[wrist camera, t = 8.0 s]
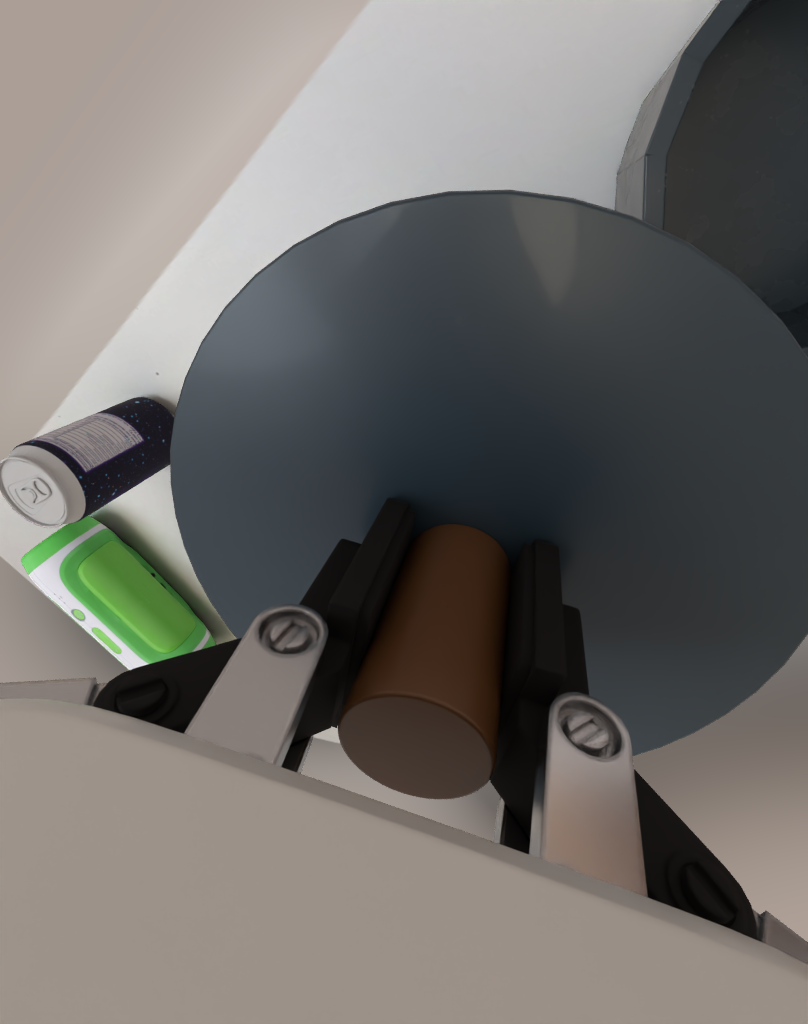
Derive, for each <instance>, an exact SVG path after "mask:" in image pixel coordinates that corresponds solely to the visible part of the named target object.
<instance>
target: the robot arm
mask: <svg viewBox="0 0 808 1024" xmlns="http://www.w3.org/2000/svg"><path fill="white" fill-rule="evenodd" d="M415 515H416V511H413V510H409V503H406V502H403V501H399V500H396V499H392V498H389V497H388V498H387V499H386V501H385V503H384V505H383V506H382V508H381V510H380V512H379V514H378V515H377V517H376V519H375V521H374V522H373V524H372V526H371V528H370V530H369V531H368V533H367V535H366V537H365V539H364V540H363V542H362V544H360V543H356V542H353V541H350V540H346V539H341V540H340V541H339V542H338V544H337V545H336V547H335V548H334V550H333V552H332V553H331V555H330V556H329V558H328V559H327V561H326V563H325V564H324V566H323V567H322V569H321V570H320V572H319V574H318V575H317V577H316V578H315V580H314V581H313V583H312V585H311V586H310V588H309V589H308V591H307V592H306V594H305V596H304V597H303V599H302V600H301V602H300V603H299V604H280V605H276V606H273V607H270V608H268V609H266V610H265V611H263V612H261V613H260V614H259V615H258V616H257V617H256V618H255V620H254V621H253V622H252V624H251V625H250V627H249V629H248V630H247V632H246V633H245V635H244V637H243V638H240V639H236V640H233V641H229V642H226V643H222V644H218V645H215V646H211V647H208V648H204V649H201V650H197V651H194V652H190V653H187V654H183V655H179V656H176V657H172V658H169V659H165V660H162V661H158V662H155V663H151V664H147V665H144V666H140V667H137V668H134V669H131V670H129V671H126V672H124V673H122V674H120V675H119V676H117V677H115V678H114V679H112V680H111V681H109V682H108V683H102V684H97V680H96V678H80V679H63V680H46V681H28V682H10V683H0V1024H808V942H807V941H805V940H804V939H803V938H801V937H800V936H799V935H797V934H796V933H795V932H794V931H792V930H791V929H790V928H788V927H787V926H786V925H784V924H783V923H782V922H780V921H779V920H778V919H777V918H775V917H774V916H773V915H771V914H770V913H769V912H767V911H765V912H763V913H762V914H761V915H760V914H758V913H757V912H756V911H754V910H753V909H752V907H751V904H750V902H749V900H748V899H747V897H746V895H745V893H744V891H743V889H742V888H741V886H740V885H739V883H738V882H737V881H736V880H735V878H734V877H733V876H732V875H731V873H730V872H729V871H728V870H727V869H726V867H725V866H724V865H723V864H722V863H721V862H720V861H719V860H718V859H717V858H716V857H715V856H714V855H713V853H712V852H711V851H710V850H709V849H708V848H707V847H706V846H705V845H704V844H703V843H702V842H701V841H700V839H699V838H698V837H697V836H696V835H695V834H694V833H693V832H692V831H691V830H690V829H689V828H688V827H687V825H686V824H685V823H684V822H683V821H682V820H681V819H680V818H679V817H678V816H677V815H676V814H675V813H674V811H673V810H672V809H671V808H670V807H669V806H668V805H667V804H666V803H665V802H664V801H663V800H662V799H661V798H660V796H658V794H657V793H656V792H655V791H654V790H653V789H652V788H651V787H650V786H649V785H648V783H647V782H646V781H645V780H644V779H643V778H642V777H641V776H640V775H639V774H638V773H637V772H636V771H635V770H634V765H633V756H632V747H631V741H630V737H629V733H628V730H627V729H626V727H625V725H624V724H623V722H622V720H621V719H620V718H619V717H618V716H617V714H616V713H615V712H614V711H613V710H612V709H611V708H609V707H608V706H607V705H605V704H604V703H603V702H601V701H600V700H598V699H596V698H594V697H592V696H590V695H589V688H588V678H587V669H586V660H585V651H584V642H583V632H582V623H581V615H580V610H579V609H578V608H575V607H572V606H569V605H565V604H563V603H562V588H561V572H560V556H559V546H557V545H554V544H550V543H547V542H543V541H540V540H536V539H535V540H534V541H533V543H532V544H528V543H524V544H523V546H522V549H521V551H520V554H519V557H518V559H517V562H516V564H515V567H514V569H513V572H512V574H511V580H510V593H509V606H508V619H507V631H506V644H505V657H504V669H503V682H502V695H501V708H500V721H499V734H498V746H497V759H496V767H495V770H494V773H493V775H492V776H491V778H490V780H491V783H492V785H493V786H494V787H495V789H496V790H497V792H498V793H499V795H500V796H501V797H500V801H499V804H498V810H497V817H496V825H495V832H494V839H493V842H492V841H489V840H486V839H484V838H481V837H478V836H476V835H472V834H470V833H467V832H464V831H461V830H458V829H456V828H453V827H450V826H447V825H444V824H442V823H439V822H436V821H433V820H430V819H428V818H425V817H422V816H419V815H416V814H413V813H410V812H408V811H405V810H402V809H399V808H396V807H393V806H391V805H388V804H385V803H382V802H379V801H376V800H374V799H371V798H368V797H365V796H362V795H359V794H356V793H353V792H351V791H348V790H345V789H342V788H340V787H337V786H334V785H331V784H328V783H325V782H322V781H320V780H316V779H314V778H311V777H308V776H305V775H302V774H301V771H302V768H303V765H304V762H305V760H306V757H307V754H308V751H309V749H310V746H311V743H312V740H313V735H314V734H317V733H319V732H322V731H324V730H326V729H329V728H331V726H332V727H335V728H337V726H338V721H339V718H340V715H341V712H342V710H343V707H344V705H345V702H346V700H347V697H348V695H349V692H350V690H351V688H352V685H353V683H354V680H355V678H356V675H357V673H358V670H359V668H360V666H361V663H362V661H363V658H364V656H365V653H366V651H367V648H368V646H369V644H370V641H371V639H372V636H373V634H374V631H375V629H376V626H377V624H378V621H379V619H380V617H381V614H382V612H383V609H384V607H385V604H386V602H387V599H388V597H389V594H390V592H391V589H392V587H393V585H394V582H395V580H396V577H397V575H398V572H399V570H400V567H401V565H402V562H403V560H404V557H405V555H406V553H407V550H408V545H409V541H410V537H411V533H412V528H413V524H414V520H415Z"/></svg>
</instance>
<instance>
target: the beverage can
mask: <svg viewBox="0 0 808 1024" xmlns="http://www.w3.org/2000/svg"><path fill="white" fill-rule="evenodd" d="M174 417H175V416H174V415H173V414H172V413H171V412H170V411H169V410H167V409H166V408H165V407H164V406H162V405H161V404H159V403H158V402H156V401H154V400H151V399H148V398H144V397H137V398H133V399H130V400H128V401H125V402H123V403H120V404H118V405H115V406H113V407H110V408H108V409H106V410H103V411H101V412H98V413H96V414H93V415H91V416H88V417H86V418H84V419H81V420H79V421H76V422H74V423H71V424H69V425H66V426H64V427H62V428H59V429H57V430H54V431H52V432H49V433H47V434H44V435H42V436H40V437H37V438H35V439H32V440H30V441H28V442H25V443H23V444H20V445H18V446H16V447H15V448H14V449H13V450H12V452H11V453H10V455H9V457H7V458H5V459H3V460H2V461H1V462H0V491H1V493H2V495H3V497H4V498H5V500H6V501H7V502H8V504H9V505H10V506H11V507H12V508H13V509H14V510H15V511H16V512H17V513H18V514H19V515H20V516H22V517H23V518H24V519H26V520H28V521H29V522H31V523H33V524H35V525H38V526H41V527H46V528H54V527H58V526H60V525H62V524H69V523H76V522H79V521H80V520H82V519H84V518H85V517H87V516H88V515H90V514H92V513H93V512H95V511H96V510H98V509H100V508H101V507H103V506H104V505H106V504H108V503H109V502H111V501H112V500H114V499H116V498H117V497H119V496H120V495H122V494H123V493H125V492H127V491H128V490H130V489H131V488H133V487H135V486H136V485H138V484H139V483H141V482H143V481H144V480H146V479H147V478H149V477H151V476H152V475H154V474H155V473H157V472H159V471H160V470H162V469H163V468H165V467H166V466H168V465H170V464H171V461H170V448H171V440H172V432H173V425H174Z"/></svg>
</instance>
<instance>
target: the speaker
mask: <svg viewBox="0 0 808 1024" xmlns="http://www.w3.org/2000/svg"><path fill="white" fill-rule="evenodd" d="M21 562H22V565H23V566H24V568H25V570H26V572H27V573H28V575H29V577H30V578H31V580H32V581H33V582H34V583H35V584H36V585H37V586H38V587H39V588H40V589H41V590H42V591H43V592H44V593H45V594H46V595H47V596H48V597H49V598H50V599H52V600H53V601H54V602H55V603H56V604H57V605H58V606H59V607H60V608H61V609H62V610H63V611H65V612H66V613H67V614H68V615H69V616H70V617H71V618H72V619H73V620H74V621H75V622H77V623H78V624H79V625H80V626H81V627H82V628H83V629H84V630H85V631H86V632H87V633H89V634H90V635H91V636H92V637H93V638H94V639H95V640H96V641H97V642H99V643H100V644H101V645H102V646H103V647H104V648H105V649H106V650H107V651H108V652H110V653H111V654H112V655H113V656H114V657H115V658H116V659H117V660H118V661H119V662H120V663H122V664H123V665H124V666H125V667H126V668H127V669H128V670H131V669H134V668H137V667H140V666H144V665H147V664H151V663H155V662H158V661H162V660H165V659H169V658H172V657H176V656H179V655H183V654H187V653H190V652H194V651H197V650H201V649H204V648H208V647H211V646H215V645H216V643H215V641H214V640H213V638H212V636H211V634H210V632H209V631H208V629H207V628H206V627H205V625H204V624H203V622H202V621H201V620H200V619H199V618H198V617H197V616H196V615H195V614H194V613H193V611H192V610H191V609H190V607H189V606H188V604H187V603H186V602H185V601H184V600H183V599H182V597H181V596H180V595H179V594H178V593H177V592H176V591H175V590H174V589H173V588H172V587H171V586H170V585H169V584H168V583H167V582H166V581H165V580H164V579H163V578H162V577H161V576H160V575H159V574H158V573H157V572H156V571H155V570H154V569H153V568H152V567H151V566H150V565H149V564H148V563H147V562H146V561H145V560H144V559H143V558H142V557H141V556H140V555H139V554H138V553H137V552H136V551H135V550H134V549H132V548H131V547H130V546H128V545H127V544H125V543H124V542H123V541H122V540H120V539H119V538H118V537H117V536H116V535H115V533H113V532H112V531H111V530H110V529H108V528H107V527H106V526H104V525H103V524H101V523H100V522H98V521H97V520H95V519H93V518H91V517H90V516H87V517H85V518H84V519H82V520H80V521H79V522H76V523H69V524H67V525H66V526H64V527H62V528H61V529H59V530H58V531H57V532H55V533H54V534H52V535H51V536H49V537H48V538H47V539H45V540H44V541H42V542H41V543H39V544H38V545H37V546H35V547H34V548H33V549H32V550H30V551H29V552H28V553H27V554H25V555H24V556H23V557H22V559H21Z"/></svg>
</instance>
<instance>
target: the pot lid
mask: <svg viewBox="0 0 808 1024" xmlns="http://www.w3.org/2000/svg"><path fill="white" fill-rule="evenodd" d="M170 461H171V488H172V495H173V501H174V508H175V515H176V519H177V522H178V526H179V529H180V533H181V537H182V540H183V544H184V547H185V550H186V552H187V554H188V557H189V559H190V562H191V564H192V567H193V569H194V571H195V574H196V576H197V578H198V580H199V582H200V583H201V585H202V587H203V589H204V591H205V593H206V594H207V596H208V598H209V600H210V602H211V603H212V605H213V606H214V608H215V609H216V611H217V612H218V614H219V615H220V616H221V618H222V619H223V621H224V622H225V624H226V625H227V627H228V628H229V629H230V630H231V632H232V633H233V634H234V635H235V636H236V638H237V639H240V638H243V637H244V635H245V633H246V632H247V630H248V629H249V627H250V625H251V624H252V622H253V621H254V620H255V618H256V617H257V616H258V615H259V614H260V613H261V612H263V611H265V610H266V609H268V608H270V607H273V606H276V605H280V604H299V603H300V602H301V600H302V599H303V597H304V596H305V594H306V592H307V591H308V589H309V588H310V586H311V585H312V583H313V581H314V580H315V578H316V577H317V575H318V574H319V572H320V570H321V569H322V567H323V566H324V564H325V563H326V561H327V559H328V558H329V556H330V555H331V553H332V552H333V550H334V548H335V547H336V545H337V544H338V542H339V541H340V540H341V539H346V540H350V541H353V542H356V543H360V544H362V542H363V540H364V539H365V537H366V535H367V533H368V531H369V530H370V528H371V526H372V524H373V522H374V521H375V519H376V517H377V515H378V514H379V512H380V510H381V508H382V506H383V505H384V503H385V501H386V499H387V498H388V497H389V498H392V499H396V500H399V501H403V502H406V503H409V510H413V511H416V515H415V520H414V524H413V528H412V533H411V537H410V541H409V545H408V550H407V553H406V555H405V557H404V560H403V562H402V565H401V567H400V570H399V572H398V575H397V577H396V580H395V582H394V585H393V587H392V589H391V592H390V594H389V597H388V599H387V602H386V604H385V607H384V609H383V612H382V614H381V617H380V619H379V621H378V624H377V626H376V629H375V631H374V634H373V636H372V639H371V641H370V644H369V646H368V648H367V651H366V653H365V656H364V658H363V661H362V663H361V666H360V668H359V670H358V673H357V675H356V678H355V680H354V683H353V685H352V688H351V690H350V692H349V695H348V697H347V700H346V702H345V705H344V707H343V710H342V712H341V715H340V718H339V721H338V735H339V740H340V743H341V745H342V747H343V749H344V751H345V753H346V754H347V756H348V757H349V758H350V760H351V761H352V762H353V763H354V764H355V765H356V766H357V767H358V768H359V769H360V770H361V771H362V772H364V773H365V774H366V775H368V776H369V777H371V778H372V779H374V780H375V781H377V782H379V783H381V784H382V785H385V786H386V787H389V788H391V789H393V790H396V791H398V792H401V793H404V794H408V795H412V796H416V797H422V798H428V799H453V798H459V797H463V796H466V795H469V794H472V793H474V792H476V791H478V790H479V789H480V788H482V787H483V786H484V785H485V784H486V783H487V782H488V781H489V780H490V778H491V776H492V775H493V773H494V770H495V767H496V759H497V746H498V734H499V721H500V708H501V695H502V682H503V669H504V657H505V644H506V631H507V619H508V606H509V593H510V580H511V574H512V572H513V569H514V567H515V564H516V562H517V559H518V557H519V554H520V551H521V549H522V546H523V544H524V543H528V544H532V543H533V541H534V540H535V539H536V540H540V541H543V542H547V543H550V544H554V545H557V546H559V556H560V572H561V588H562V603H563V604H565V605H569V606H572V607H575V608H578V609H579V610H580V615H581V623H582V632H583V642H584V651H585V660H586V669H587V678H588V688H589V695H590V696H592V697H594V698H596V699H598V700H600V701H601V702H603V703H604V704H605V705H607V706H608V707H609V708H611V709H612V710H613V711H614V712H615V713H616V714H617V716H618V717H619V718H620V719H621V720H622V722H623V724H624V725H625V727H626V729H627V730H628V733H629V737H630V741H631V747H632V756H635V755H638V754H641V753H645V752H648V751H651V750H654V749H657V748H660V747H663V746H665V745H667V744H670V743H672V742H674V741H677V740H679V739H681V738H684V737H686V736H688V735H691V734H693V733H695V732H696V731H698V730H700V729H702V728H704V727H705V726H707V725H709V724H711V723H712V722H714V721H716V720H718V719H719V718H721V717H723V716H725V715H726V714H728V713H729V712H730V711H731V710H733V709H734V708H736V707H737V706H738V705H740V704H741V703H742V702H744V701H745V700H746V699H748V698H749V697H750V696H752V695H753V694H754V693H756V692H757V691H758V690H759V689H760V688H761V687H762V686H763V685H764V684H765V683H766V682H767V681H768V680H769V679H770V678H771V677H772V676H773V675H774V674H775V673H777V672H778V671H779V670H780V669H781V668H782V667H783V666H784V665H785V663H786V662H787V661H788V660H789V658H790V657H791V656H792V654H793V653H794V652H795V650H796V649H797V648H798V646H799V645H800V644H801V642H802V641H803V640H804V639H805V637H806V636H807V635H808V357H807V356H806V354H805V353H804V351H803V350H802V349H801V347H800V346H799V344H798V343H797V341H796V340H795V338H794V337H793V336H792V334H791V333H790V331H789V330H788V328H787V327H786V325H785V324H784V323H783V321H782V320H781V319H780V318H779V317H778V316H777V315H776V314H775V313H774V312H773V311H772V310H771V309H770V308H769V307H768V306H767V305H766V304H765V303H764V302H763V301H762V300H761V299H760V298H759V297H758V296H757V295H756V294H755V293H754V292H753V291H752V290H751V289H750V288H749V287H748V286H747V285H746V284H745V283H744V282H743V281H742V280H741V279H740V278H739V277H737V276H736V275H734V274H733V273H732V272H730V271H729V270H727V269H726V268H724V267H723V266H722V265H720V264H719V263H717V262H716V261H714V260H713V259H712V258H710V257H709V256H707V255H706V254H705V253H703V252H702V251H700V250H699V249H697V248H696V247H695V246H693V245H692V244H690V243H688V242H686V241H684V240H682V239H680V238H678V237H676V236H674V235H672V234H670V233H668V232H666V231H663V230H661V229H659V228H657V227H655V226H653V225H651V224H649V223H647V222H645V221H643V220H640V219H638V218H636V217H634V216H632V215H628V214H625V213H621V212H618V211H615V210H611V209H608V208H604V207H601V206H598V205H594V204H591V203H588V202H584V201H581V200H577V199H574V198H569V197H561V196H553V195H546V194H538V193H530V192H523V191H515V190H484V191H448V192H443V193H437V194H432V195H426V196H421V197H416V198H410V199H405V200H399V201H394V202H390V203H387V204H384V205H381V206H378V207H375V208H373V209H370V210H367V211H364V212H361V213H358V214H356V215H353V216H350V217H347V218H344V219H341V220H339V221H337V222H335V223H333V224H331V225H330V226H328V227H326V228H324V229H322V230H320V231H319V232H317V233H315V234H313V235H311V236H309V237H307V238H306V239H304V240H302V241H300V242H298V243H296V244H295V245H293V246H292V247H290V248H289V249H288V250H287V251H285V252H284V253H283V254H281V255H280V256H279V257H278V258H276V259H275V260H274V261H272V262H271V263H270V264H268V265H267V266H266V267H265V268H263V269H262V270H261V271H259V272H258V273H257V274H256V275H255V276H254V277H253V278H252V279H251V280H250V281H249V282H248V283H247V284H246V285H245V286H244V287H243V288H242V290H241V291H240V292H239V293H238V294H237V295H236V296H235V297H234V298H233V299H232V300H231V301H230V302H229V303H228V305H227V306H226V307H225V308H224V310H223V311H222V313H221V314H220V315H219V317H218V318H217V320H216V321H215V323H214V324H213V326H212V327H211V329H210V330H209V332H208V333H207V335H206V336H205V338H204V339H203V341H202V343H201V345H200V347H199V349H198V351H197V353H196V356H195V358H194V360H193V362H192V364H191V366H190V369H189V371H188V373H187V375H186V377H185V380H184V384H183V387H182V391H181V394H180V398H179V401H178V405H177V408H176V412H175V417H174V425H173V432H172V440H171V448H170Z"/></svg>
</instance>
